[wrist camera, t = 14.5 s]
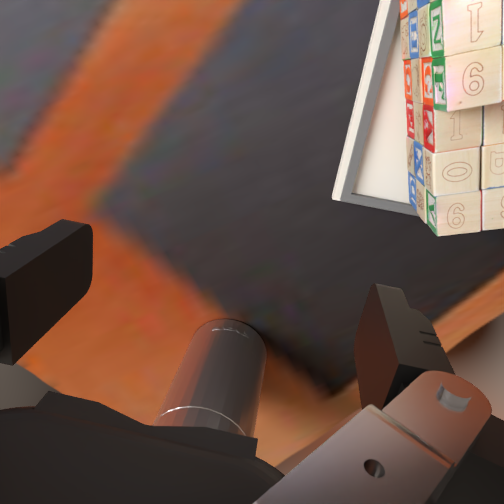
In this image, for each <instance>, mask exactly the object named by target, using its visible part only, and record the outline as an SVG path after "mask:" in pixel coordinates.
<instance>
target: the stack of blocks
mask: <svg viewBox="0 0 504 504" xmlns="http://www.w3.org/2000/svg"><path fill="white" fill-rule="evenodd" d="M399 1H400V19H401V22H400V25H401V52H402V60H403V62H404V86H405V98H406V117H407V134H408V135H407V136H406V151H407V169H408V186H409V201H410V203H411V205H412V206H413V208H414V209H415V210H416V212H417V213H418V215H419V216H420V218H421V219H422V220H423V221H424V223H426V224H428V225H429V227H430V228H431V229H432V231H433V232H434V233H435V234H436V235H437V236H445V235H454V234H462V233H472V232H479V231H481V230H492V229H501V228H504V0H399Z"/></svg>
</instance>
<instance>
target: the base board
mask: <svg viewBox="0 0 504 504" xmlns="http://www.w3.org/2000/svg"><path fill="white" fill-rule="evenodd" d="M400 22H401V19H400V1H399V0H380V3H379V7H378V11H377V15H376V19H375V23H374V27H373V31H372V35H371V39H370V43H369V47H368V51H367V56H366V60H365V64H364V68H363V72H362V76H361V80H360V84H359V88H358V92H357V96H356V100H355V104H354V108H353V112H352V116H351V120H350V125H349V129H348V133H347V137H346V141H345V145H344V149H343V153H342V157H341V161H340V165H339V169H338V173H337V177H336V181H335V185H334V189H333V193H332V199H333V200H339V201H343V202H348V203H353V204H359V205H364V206H369V207H374V208H379V209H384V210H390V211H395V212H400V213H405V214H410V215H415V216H419V215H418V213H417V212H416V210H415V209H414V208H413V206H412V205H411V203H410V201H409V186H408V169H407V151H406V136H407V135H408V134H407V117H406V98H405V86H404V62H403V60H402V52H401V25H400Z"/></svg>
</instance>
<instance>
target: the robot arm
mask: <svg viewBox="0 0 504 504" xmlns="http://www.w3.org/2000/svg"><path fill="white" fill-rule="evenodd" d="M92 268H93V232H92V228H91V226H90V225H89V224H84V223H79V222H74V221H69V220H64V219H62V220H60V221H58V222H56V223H54V224H53V225H51V226H49V227H48V228H46V229H44V230H42V231H41V232H37V233H34V234H30V235H26V236H23V237H21V238H19V239H17V240H15V241H14V242H12V243H10V244H9V246H5V247H3V248H1V249H0V363H3V364H7V365H14V364H15V363H16V362H17V361H18V360H19V359H20V358H21V357H22V356H23V355H24V354H25V353H26V352H27V351H28V350H29V349H30V348H31V347H32V346H33V345H34V344H35V343H36V342H37V341H38V340H39V339H40V338H41V337H42V336H44V335H45V334H46V333H47V332H48V331H49V330H50V329H51V328H52V327H53V326H54V325H55V324H56V323H57V322H58V321H59V320H60V319H61V318H62V317H63V316H64V315H65V314H66V313H67V312H68V311H69V310H70V309H71V308H72V307H73V306H74V305H75V304H76V303H77V302H78V301H79V300H80V299H81V298H82V297H83V296H84V295H85V294H86V293H87V291H88V289H89V287H90V284H91V281H92ZM436 335H437V334H436V332H435V330H434V328H433V326H432V324H431V322H430V321H429V320H428V319H427V318H426V317H425V316H424V315H423V314H422V313H421V312H420V311H419V310H415V309H410V308H409V305H408V303H407V300H406V298H405V295H404V293H403V291H402V289H399V288H395V287H390V286H385V285H380V284H375V283H374V284H373V285H372V286H371V288H370V291H369V294H368V297H367V300H366V303H365V306H364V309H363V313H362V316H361V319H360V322H359V325H358V329H357V332H356V336H355V342H354V357H355V364H356V370H357V377H358V384H359V391H360V398H361V405H362V411H360V412H359V413H358V414H357V415H356V416H355V417H353V418H352V419H351V420H350V421H349V422H348V423H346V424H345V425H344V426H343V427H342V428H341V429H340V430H338V431H337V432H336V433H335V434H334V435H332V436H331V437H330V438H329V439H328V440H327V441H325V442H324V443H323V444H322V445H321V446H320V447H318V448H317V449H316V450H315V451H314V452H312V454H310V455H309V456H308V457H307V458H306V459H304V460H303V461H302V462H301V463H300V464H298V465H297V466H296V467H295V468H294V469H293V470H292V471H290V472H289V473H288V474H287V475H286V476H285V475H284V474H282V473H281V472H280V471H279V470H277V469H276V468H275V467H273V466H271V465H270V464H268V463H267V462H265V461H263V460H261V459H259V458H257V457H255V455H256V448H257V441H258V439H257V438H253V437H254V431H255V425H256V419H257V412H258V406H259V400H260V394H261V388H262V383H263V377H264V371H265V365H266V358H267V352H266V347H265V344H264V342H263V340H262V338H261V337H260V336H259V335H258V333H257V332H256V331H255V330H253V329H252V328H251V327H250V326H248V325H246V324H244V323H242V322H239V321H235V320H230V319H218V320H214V321H210V322H208V323H206V324H204V325H203V326H201V327H200V328H199V329H198V330H197V331H196V333H195V334H194V336H193V338H192V340H191V343H190V345H189V347H188V349H187V351H186V354H185V355H184V357H183V360H182V362H181V364H180V366H179V368H178V371H177V373H176V375H175V377H174V379H173V382H172V384H171V386H170V388H169V390H168V393H167V395H166V397H165V399H164V401H163V404H162V406H161V408H160V410H159V412H158V415H157V417H156V419H155V421H154V423H153V426H149V425H144V424H142V423H140V422H138V421H136V420H134V419H132V418H130V417H128V416H125V415H123V414H121V413H119V412H117V411H115V410H113V409H111V408H109V407H107V406H105V405H103V404H101V403H99V402H95V401H90V400H86V399H82V398H77V397H73V396H69V395H64V394H60V393H55V392H51V391H48V392H47V393H46V394H45V396H44V397H43V398H42V399H41V401H40V402H39V403H38V404H37V405H36V406H35V407H34V406H32V407H16V408H9V409H3V410H0V504H504V421H503V420H501V419H499V418H497V417H495V416H493V415H492V414H491V413H492V408H491V404H490V403H489V400H488V399H487V398H486V396H485V395H484V394H483V393H482V392H481V391H480V390H479V389H478V388H477V387H475V386H474V385H473V384H471V383H470V382H468V381H466V380H464V379H463V378H461V377H459V376H456V375H455V373H454V371H453V368H452V366H451V365H450V362H449V360H448V358H447V356H446V353H445V351H444V349H443V347H441V343H440V341H439V338H438V337H436Z"/></svg>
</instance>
